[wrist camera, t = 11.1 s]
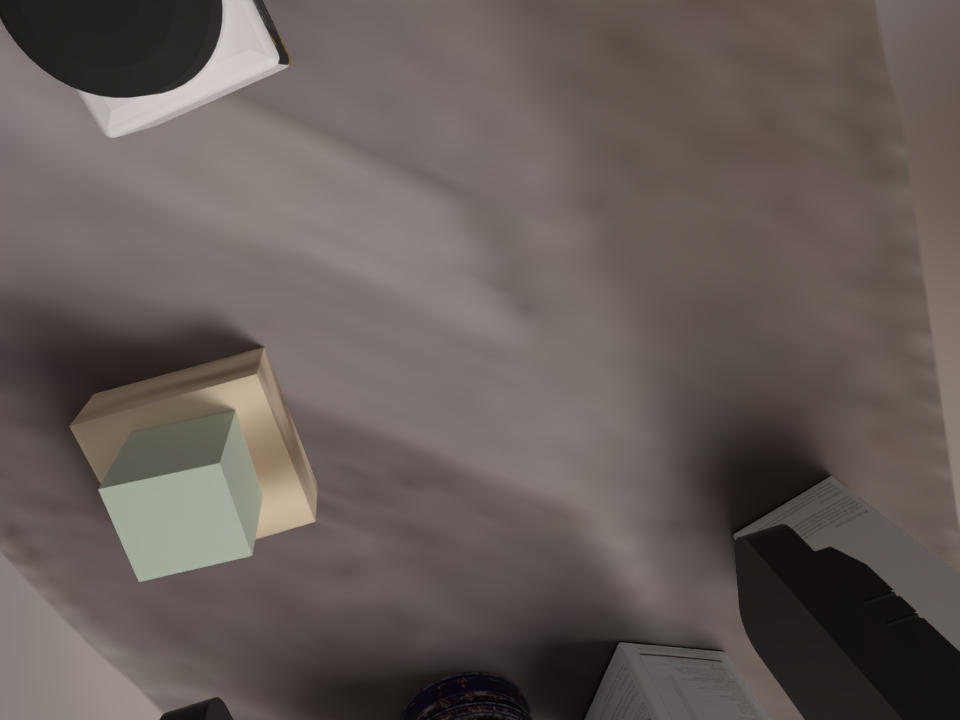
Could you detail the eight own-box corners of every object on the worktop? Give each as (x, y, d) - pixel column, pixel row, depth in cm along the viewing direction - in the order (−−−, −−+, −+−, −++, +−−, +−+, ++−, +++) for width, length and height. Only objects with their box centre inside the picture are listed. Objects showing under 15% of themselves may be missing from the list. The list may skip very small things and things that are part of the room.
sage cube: (130, 432, 34) (98, 489, 29) (235, 410, 34) (219, 462, 30) (164, 516, 36) (139, 582, 31) (263, 494, 36) (252, 555, 32)
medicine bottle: (293, 64, 32) (270, 61, 21) (152, 127, 32) (56, 156, 21) (212, -107, 29) (136, -213, 18) (55, -38, 29) (-114, -103, 18)
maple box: (96, 390, 37) (69, 426, 33) (264, 344, 37) (256, 373, 34) (165, 526, 40) (147, 571, 37) (317, 481, 41) (315, 521, 37)
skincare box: (757, 590, 50) (920, 792, 36) (727, 528, 48) (890, 721, 34) (859, 532, 50) (1063, 713, 36) (835, 467, 47) (1045, 635, 33)
